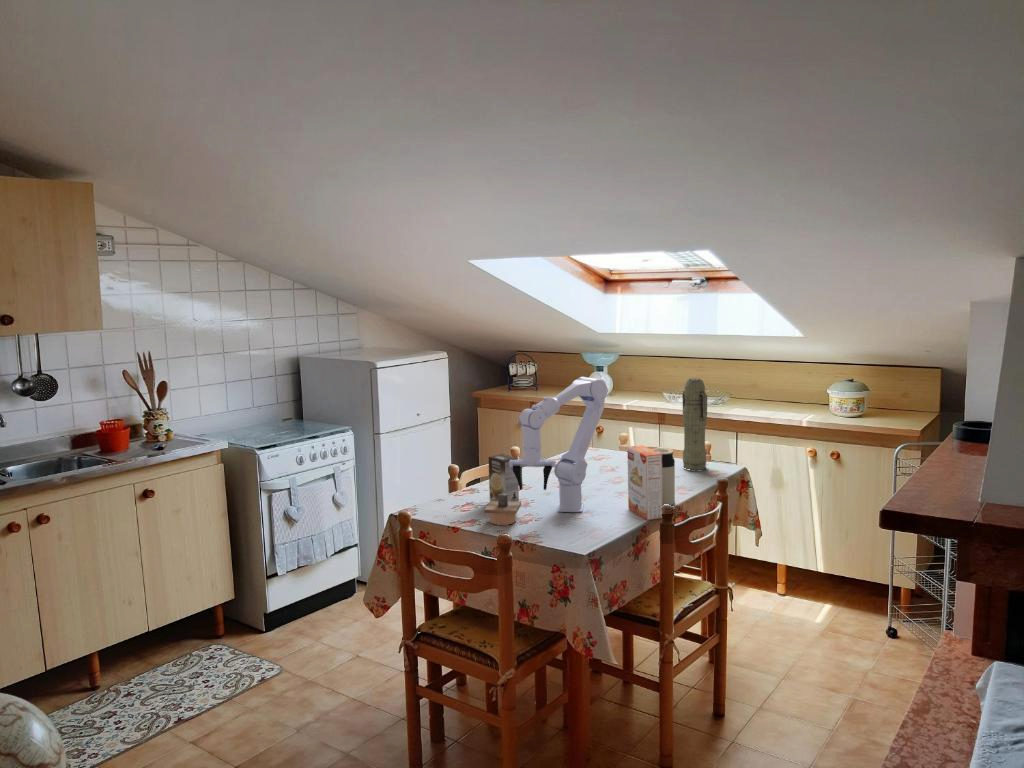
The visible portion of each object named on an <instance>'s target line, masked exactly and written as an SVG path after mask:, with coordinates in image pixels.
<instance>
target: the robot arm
mask: <svg viewBox="0 0 1024 768" xmlns="http://www.w3.org/2000/svg"><path fill="white" fill-rule="evenodd" d="M608 392H609V389H608V386H607V383H606V382H605V380H603V379H601V378H593V377H587V376H580V377H579V378H577V379H575V380H573V381H572V383H571V384H570V385H568V386H567V387H566V388H565V389H564V390H562V391H561V392H560V393H558V394H556V395H555V396H554V397H552V396H544V397H543V398H542V400H541V401H540V402H538V403H536V404H532V406H531V408H525V409H522V411H521V412H520V414H519V417H517V421H518V424H520V427H521V431H522V457H523V458H520V459H519V458H518V459H517V460H510V461H509V467H513V469H512V470H513V472H514V474H515V476H516V478H517V481H518V484H519V490H520V491H521V490H523V488H524V486H523V484H524V483H523V467H524V468H525V467H526V468H527V467H530V468H531V467H532V468H533V467H536V468H537V467H538V468H541V467H543V468H542V470H543V471H542V472H543V491H547V486H548V481H549V478H550V474H551V472H552V469H553V468H554V470H553V471H554V475H555V477H556V478H557V481H558V484H559V485H558V487H559V489H558V490H559V493H558V494H559V496H558V497H559V505H558V508H557V512H559V513H563V512H564V513H582V512H583V509H584V505H585V503H584V502H582V484H583V481H585V479H586V476H587V467H588V463H587V461H586V458H585V457H586V455H587V452H588V449H589V447H590V444H591V442H592V440H593V437H594V434H595V432H596V429H597V426H598V424H599V422H600V419H601V417H602V414H603V412H604V410H605V401H606V400H605V399H606V396H608ZM578 397H579V398H580V400H581V401H582V402H583V403H584V406H585V409H584V411H583V412H584V413H583V414H582V418H581V420H580V422H579V425H578V427H577V430H576V432H575V435H574V438H573V440H572V442H571V444H570V447H569V449H568V451H567V452H565V453H564V454H562V455H561V457H560V459H559V461H558V462H556V461H557V460H556V459H545V458H542V438H541V437H542V435H541V434H542V432H541V428H542V427H543V425H544V423H545V421H546V420H548V419H549V418H551V417H553V416H554V415H556V414H557V413H558V412H559V411H560V407H561V406H563V405H565V404H566V403H568V402H570V401H572V400H574V399H575V398H578Z"/></svg>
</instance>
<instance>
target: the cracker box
mask: <svg viewBox="0 0 1024 768" xmlns="http://www.w3.org/2000/svg"><path fill="white" fill-rule="evenodd" d="M626 451H627V489H628V490H627V491H628V492H627V495H628V496H627V497H628V500H627V502H628V503H627V505H628V506H627V507H628V509H629V510H630V511H632V512H633V513H635V514H637V516H640V517H641V518H642V519H644V520H646V521H652V520H659V519H660V520H661V519H662V518H661V506H663V502H662V454H660V453H658V452H655V451H653V450H652V449H651V448H649V447H647V446H646V445H634V446H631V445H630V446H627V450H626ZM663 507H664V506H663Z"/></svg>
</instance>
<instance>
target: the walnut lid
mask: <svg viewBox="0 0 1024 768" xmlns="http://www.w3.org/2000/svg"><path fill="white" fill-rule="evenodd" d="M521 506H522V501H520V500H519V501H508V497H507V494H498V501H490V500H489V502H488V504H487V505H486V506H485V508H484V509H483V510H484V514H490V513H503V514H518V512H519V510H520V507H521Z"/></svg>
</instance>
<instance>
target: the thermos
mask: <svg viewBox="0 0 1024 768" xmlns="http://www.w3.org/2000/svg"><path fill="white" fill-rule="evenodd" d="M707 417H708V395H707V393H706V386H705V382H704V380H703V379H701V378H688V379H687V380H686V382H685V384H684V390H683V392H682V424H683V427H684V428H683V430H684V431H683V432H684V433H683V435H684V436H683V437H684V438H683V439H684V442H683V444H684V445H683V450H682V462H683V464H682V465H683V466H682V468H683V467H684V468H686V469H690V470H703V469H705V470H706V469H707V450H706V425H707V419H708V418H707ZM703 471H704V470H703Z"/></svg>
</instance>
